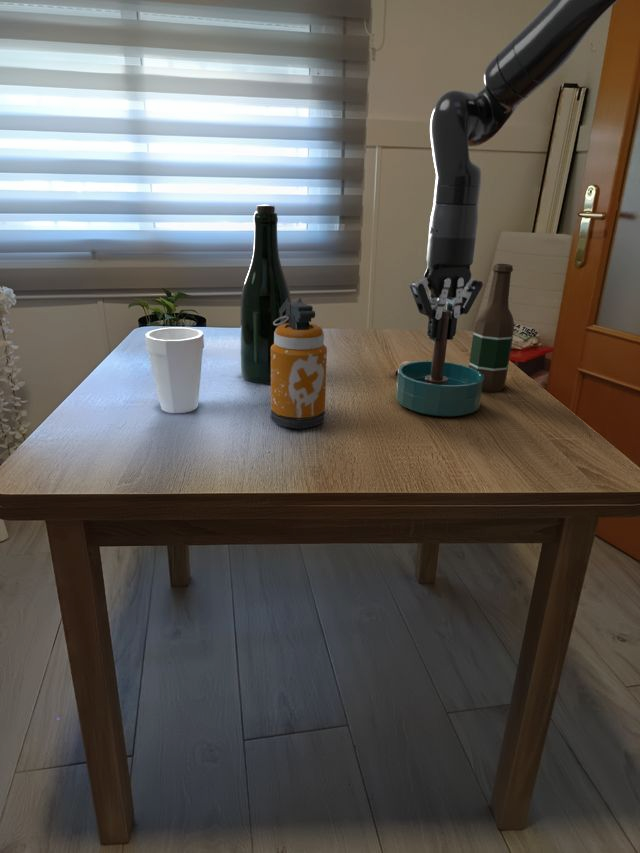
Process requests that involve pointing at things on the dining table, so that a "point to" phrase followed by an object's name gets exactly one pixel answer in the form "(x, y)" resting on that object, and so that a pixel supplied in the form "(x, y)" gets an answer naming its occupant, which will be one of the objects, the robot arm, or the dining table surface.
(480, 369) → the beer bottle
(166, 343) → the foam cup
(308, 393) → the canister
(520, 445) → the dining table surface
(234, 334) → the dining table surface
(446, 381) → the muddler
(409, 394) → the bowl
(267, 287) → the green wine bottle
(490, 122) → the robot arm
